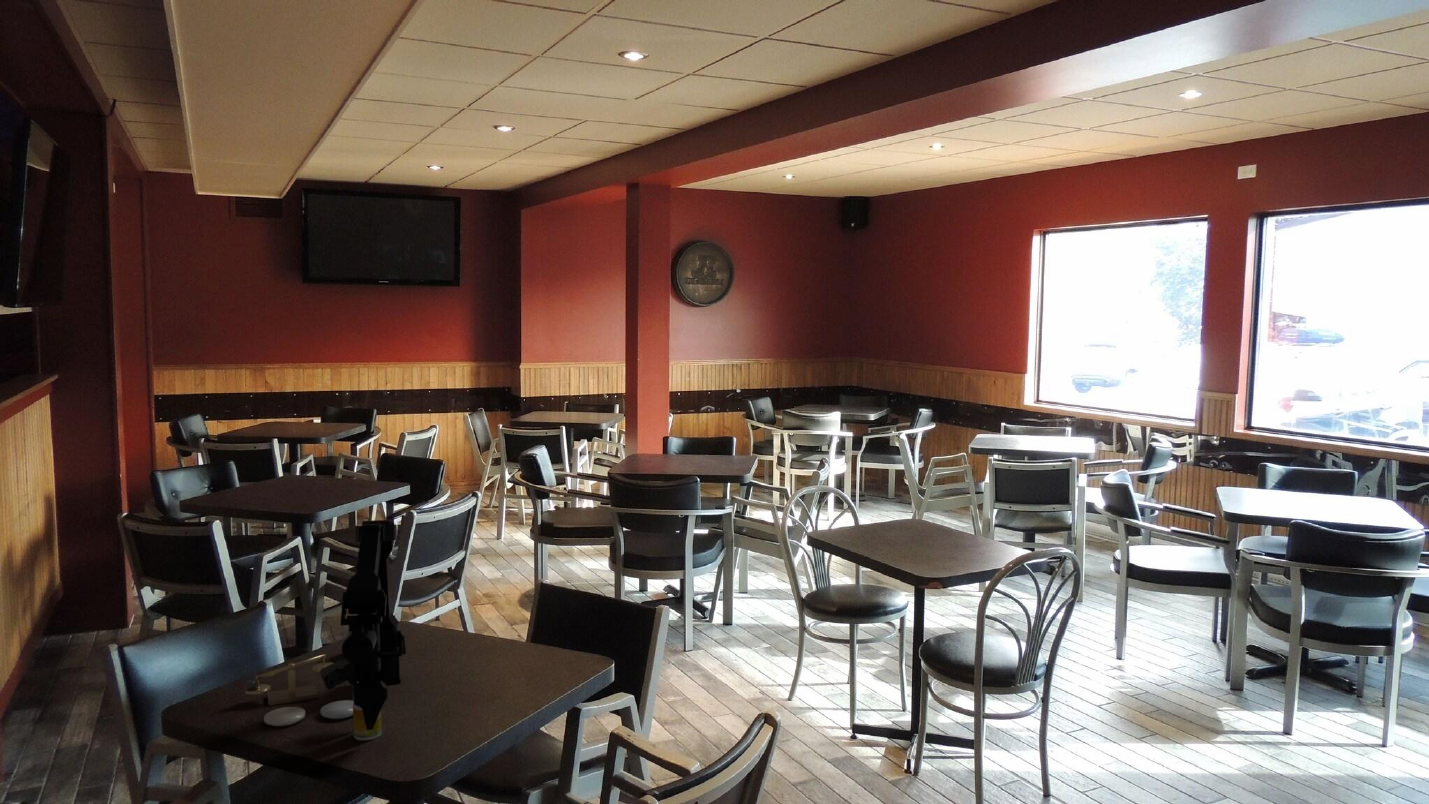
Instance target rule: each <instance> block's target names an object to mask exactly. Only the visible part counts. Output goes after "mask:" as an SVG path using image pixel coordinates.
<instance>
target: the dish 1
mask: <svg viewBox="0 0 1429 804" xmlns="http://www.w3.org/2000/svg"><path fill="white" fill-rule="evenodd" d="M305 717H306V710H305V709H304V708H302V707H298V706H287V707H280V708H277V709H276V708H275V709H273V710H271V711H268V712H267V713H266V714H264V716H263V722H264V723H265V724H266V725H269V726H273V727H285V726H290V725H293V724H296V723H297V722H300V721H302V720H303V719H304V718H305Z"/></svg>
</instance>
